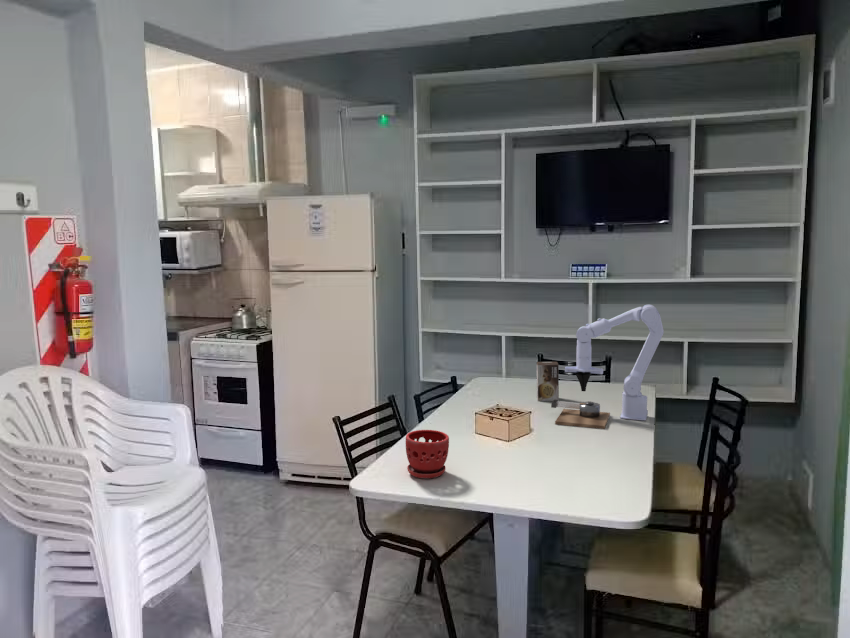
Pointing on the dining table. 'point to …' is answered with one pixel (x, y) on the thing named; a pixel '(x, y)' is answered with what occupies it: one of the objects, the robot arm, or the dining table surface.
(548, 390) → the brown rectangular box
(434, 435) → the plant pot
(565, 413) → the board
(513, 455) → the dining table surface
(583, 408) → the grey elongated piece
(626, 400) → the robot arm
